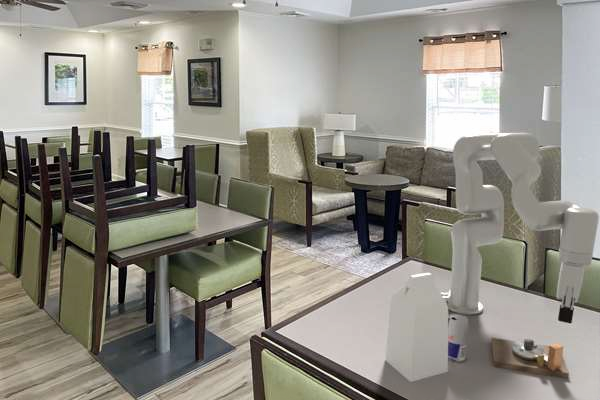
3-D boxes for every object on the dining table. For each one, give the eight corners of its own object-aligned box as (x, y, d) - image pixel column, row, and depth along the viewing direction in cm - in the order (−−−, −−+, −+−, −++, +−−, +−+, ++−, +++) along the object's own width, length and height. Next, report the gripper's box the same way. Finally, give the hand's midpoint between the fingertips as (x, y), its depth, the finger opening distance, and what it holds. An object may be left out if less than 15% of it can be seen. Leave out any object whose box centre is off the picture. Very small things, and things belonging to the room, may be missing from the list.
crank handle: (505, 349, 136) (507, 329, 135) (525, 343, 140) (528, 323, 138) (546, 372, 125) (548, 350, 123) (567, 365, 128) (569, 344, 127)
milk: (410, 381, 124) (415, 285, 118) (385, 360, 134) (389, 271, 129) (447, 371, 128) (454, 278, 123) (420, 351, 139) (425, 265, 133)
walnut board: (493, 366, 131) (495, 347, 130) (491, 342, 144) (492, 325, 143) (568, 378, 125) (570, 359, 124) (558, 352, 138) (560, 334, 137)
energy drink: (442, 352, 138) (445, 313, 135) (460, 352, 138) (463, 313, 136) (449, 362, 133) (452, 322, 130) (468, 362, 133) (471, 321, 131)
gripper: (560, 245, 132) (551, 306, 137) (556, 261, 120) (546, 329, 124) (592, 250, 129) (581, 313, 133) (591, 267, 116) (580, 337, 120)
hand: (564, 320), depth 129 cm, fingers closed
